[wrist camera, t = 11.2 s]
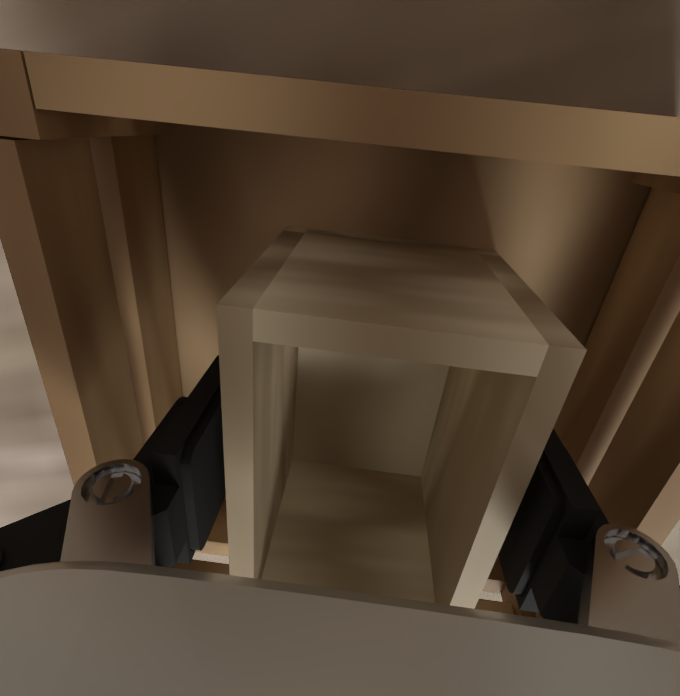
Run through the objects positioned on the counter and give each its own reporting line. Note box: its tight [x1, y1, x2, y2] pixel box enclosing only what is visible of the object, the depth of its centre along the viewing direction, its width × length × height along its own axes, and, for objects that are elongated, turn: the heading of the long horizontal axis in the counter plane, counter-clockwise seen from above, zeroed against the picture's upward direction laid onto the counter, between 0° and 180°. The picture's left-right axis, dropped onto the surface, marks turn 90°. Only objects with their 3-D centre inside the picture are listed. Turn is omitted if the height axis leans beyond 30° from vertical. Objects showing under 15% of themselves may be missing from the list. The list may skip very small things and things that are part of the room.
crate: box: [0, 49, 680, 619], centre depth 12 cm, size 14×16×6 cm
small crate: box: [216, 226, 587, 609], centre depth 12 cm, size 6×9×6 cm, turn 174°
